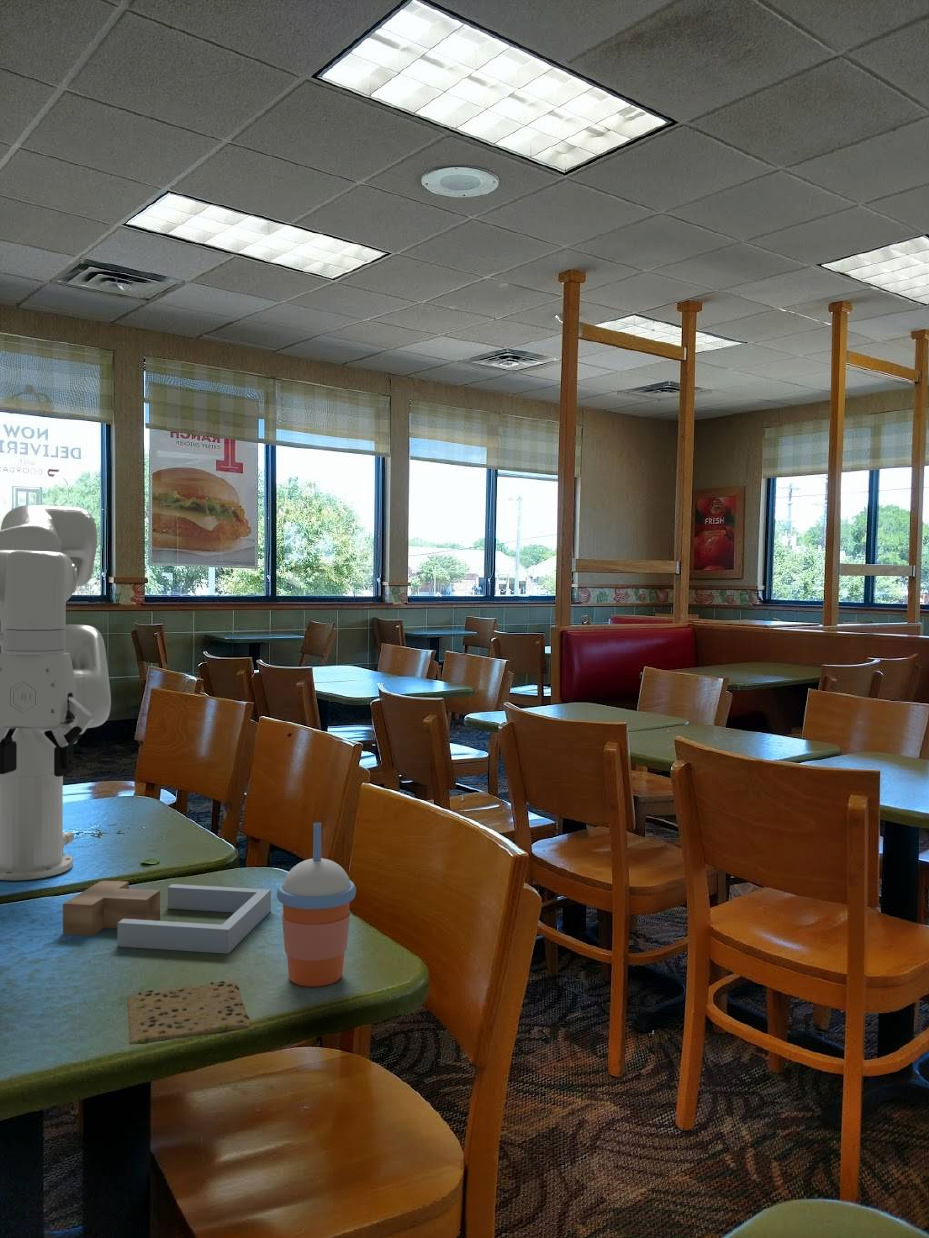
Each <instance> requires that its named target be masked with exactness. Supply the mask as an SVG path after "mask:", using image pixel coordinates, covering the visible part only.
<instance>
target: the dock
mask: <svg viewBox="0 0 929 1238" xmlns="http://www.w3.org/2000/svg"><path fill="white" fill-rule="evenodd" d="M167 909H173V910H188V911H189V910H190V911H203V912H222V913H233V914H232V915H231V916H230V917H228V918H227V919H226V920H225V921H224V922H223V923H222V924H215V923H200V922H199V923H198V922H184V921H182V922H181V921H170V920H169V921H166V920H159V921H153V920H137V919H122V920H121V921H119V922H118V928H117V942H116V943H117V945H116V947H120V948H121V947H123V948H137V949H150V950H151V949H153V950H168V951H182V952H184V951H185V952H196V953H198V952H200V953H211V954H213V953H214V954H225V955H226V954H227V955H228V954H230V953H231V952H232V951H233V950H234V949H235V948H236V947H237V946H238V945H239V944H240V943H241V942H242V941H243V940H244V939H245V938H246V937H247V936H248V935H249V934H250V933H251V932H252V931H253V929H255V928H256V927H257V926H258V925H259V924H260V923H261V922H262V921H263V919H265V918H266V916H267V915H269V913H271V912H272V889H267V888H266V889H265V888H251V887H250V888H248V887H234V886H232V887H231V886H230V887H229V886H214V885H212V886H211V885H198V884H197V885H196V884H195V885H194V884H178V883H171V885H169V886H168V887H167Z"/></svg>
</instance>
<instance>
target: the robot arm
mask: <svg viewBox="0 0 929 1238" xmlns="http://www.w3.org/2000/svg"><path fill="white" fill-rule="evenodd" d="M97 548H98V529H97V525H96V521H95V519H94V518H93V516H92V514H91V513H90V512H89V511H88V510H86V509H84V508H81V507H75V506H62V505H61V506H59V505H56V506H55V505H40V504H39V505H38V504H25V505H21V506H17V507H15V508H12V509H11V510H9V511H8V512H7V513H6V514H5V516H4V517H3V519H2V521H1V526H0V881H16V882H17V881H31V880H38V879H43V878H49V877H50V878H51V877H53V876H56V875H61V874H63V873H65V872H67V871H69V870H70V869H72V867H73V866H74V859H73V857H72V856H71V855H70V854H67V853H64V848H65V846H66V845H69V844H71V843H72V842H73V841H74V840H75V836H74V833H73V832H71V831H65V832H63V831H64V829H63V825H64V824H63V823H64V822H63V820H64V818H63V817H64V813H63V812H64V810H63V808H64V806H63V805H64V804H63V800H64V797H63V793H64V791H63V789H64V787H63V786H64V779H63V778H64V776H66V775H68V774H71V772H72V768H73V766H74V745H75V744H77V742H78V740H79V739H80V738H81V737H82V736H83V735H84V734H85V733H86V730H87V729H90V728H91V729H92V728H97V727H99V726H100V727H101V726H102V725H103V724H104V723H106V721H107V720H108V718H109V717H110V713H111V708H112V707H111V706H112V696H111V684H110V677H109V676H110V675H109V670H108V669H109V668H108V661H107V659H108V658H107V651H106V646H105V642H104V638H103V635H102V634H101V632H100V631H99V630H98V629H97V628H96V627H94V626H91V625H87V624H72V623H71V624H66V622H67V621H66V619H67V616H66V615H67V614H66V613H67V612H66V611H67V610H66V606H67V601H68V600H69V599H70V598H71V597H72V595H73V594H74V593H75V592H76V591H77V588H78V587H82V586H85V585H87V584H88V583H89V581H90V580H91V578H92V575H93V573H94V566H95V560H96V553H97V550H98V549H97ZM48 731H51V732H52V734H53V736H54V739H55V740H56V742H57V744H58V746H57V745H55V743H53V741H52V740H51V739H49V737H48V736H46V734H45V732H48Z"/></svg>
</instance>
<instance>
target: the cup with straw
mask: <svg viewBox="0 0 929 1238" xmlns="http://www.w3.org/2000/svg"><path fill="white" fill-rule="evenodd" d="M312 836H313V837H312V838H313V841H312V842H313V843H312V844H313V845H312V849H313V851H312V857H313V858H309V859H305V860H303V861H301V862H299V863H297V864H296V865H294V866H293V867H292V868H291V869H290V870H289V872H288V873H287V874H286V875H285V878H284V881H282V882H281V883H280V884H279V885H278V887H277V889H276V898H277V900H278V901H279V903H280V904H282V911H283V912H282V914H281V918H282V932H283V942H284V943H283V944H284V952H285V954H286V958H287V959H286V960H287V961H286V962H287V969H288V970H287V971H288V979H289V980H290V981H291V982H292V983H293V984H295V985H298V986H302V987H307V988H311V987H312V988H314V987H315V988H318V987H324V986H329V985H332V984H334V983H336V982H338V981H339V980H340V979H341V978H342V976H343V971H344V963H345V962H344V961H345V953H346V951H347V949H348V948H347V947H348V937H349V929H350V928H349V927H350V922H351V920H350V918H351V910H350V905H351V904H350V903H351V902H352V901H353V900H354V898H355V897H356V894H357V890H356V889H357V888H356V886H355V883H354V882H353V881H352V880H351V879H350V878H349V876H348V874H347V872H346V870H345V869H344V868H343V867H342V866H341V865H340V864H338V863H337V862H335V861H333V860H331V859H326V858H322V823H321V822H313V835H312Z"/></svg>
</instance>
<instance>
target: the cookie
mask: <svg viewBox="0 0 929 1238" xmlns="http://www.w3.org/2000/svg"><path fill="white" fill-rule="evenodd" d="M127 1016H128V1017H127V1018H128V1026H127V1027H128V1030H129V1031H128V1032H129V1033H128V1039H129V1043H128V1044H129V1045H137V1044H145V1043H146V1044H148V1043H149V1042H151V1043H152V1042H158V1041H165V1040H172V1039H177V1038H185V1037H191V1036H192V1035H193V1036H199V1035H200V1036H201V1035H207V1034H212V1033H219V1032H221V1033H222V1032H226V1031H227V1032H228V1031H235V1030H243V1029H247V1028H250V1027H251V1022H250V1020H249V1019H250V1016H248V1012H247V1011H246V1008H245V1004H244V1001H243V999H242V997H241V992H240V987H239V986H238V983H237V982H236V981H224V980H222V981H218V982H214V981H211V982H210V983H205V984H197V985H195V986H193V985H192V986H187V987H181V988H177V989H176V988H174V989H171V988H170V989H160V990H153V989H151V990H147V991H146V992H141V991H139V992H138V993H136V994H132V995H128V996H127ZM190 1035H191V1036H190Z"/></svg>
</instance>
